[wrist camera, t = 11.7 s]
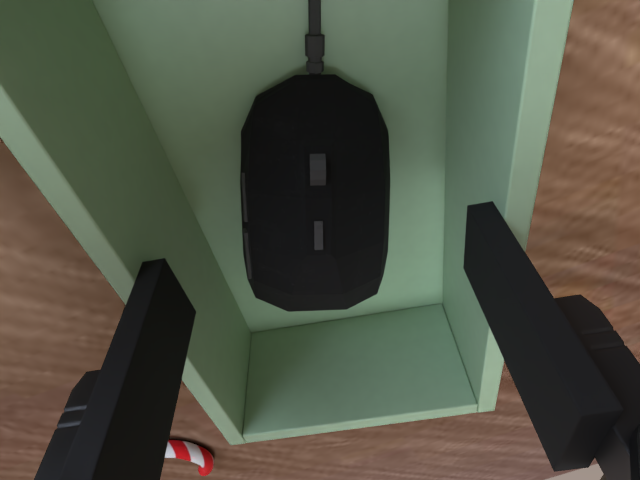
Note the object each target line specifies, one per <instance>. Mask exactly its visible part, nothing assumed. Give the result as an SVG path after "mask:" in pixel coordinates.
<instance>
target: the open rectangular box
mask: <svg viewBox="0 0 640 480" xmlns="http://www.w3.org/2000/svg"><path fill="white" fill-rule="evenodd" d="M573 2H574V0H321V34H324V35H325V55H324V56H323V57H322V61H323V62H324V71H323V72H321V74H336V75H337V76H339V77H340V78H342V79H343V80H345V81H347V82H348V83H350V84H352V85H354V86H356V87H358V88H360V89H362V90H365V91H367V92H369V93H371V94H373V96H374V98H375V100H376V103H377V105H378V107H379V110H380V112H381V114H382V117H383V119H384V121H385V124H386V126H387V128H388V133H389V155H390V212H389V240H388V254H387V259H386V265H385V270H384V275H383V278H382V281H381V284H380V287H379V290H378V293H377V294H376V295H374V296H372V297H370V298H368V299H366V300H364V301H362V302H361V303H359V304H357V305H355V306H353V307H351V308H349V309H347V310H321V311H294V312H288V311H285V310H283V309H281V308H278V307H276V306H274V305H271V304H269V303H267V302H264V301H262V300H260V299H257V298H255V295H254V293H253V291H252V289H251V286H250V284H249V282H248V279H247V274H246V268H245V262H244V256H243V237H242V214H241V190H240V170H241V130H242V127H243V125H244V123H245V120H246V118H247V116H248V113H249V111H250V109H251V106H252V104H253V102H254V99H255V97H256V96H257V95H259V94H260V93H262V92H264V91H266V90H268V89H270V88H272V87H274V86H275V85H277V84H279V83H281V82H283V81H285V80H287V79H289V78H290V77H292V76H294V75H309V72H307V71H306V62H307V61H308V57H307V56H305V35H306V34H309V16H308V0H0V138H1V139H2V140H3V142H4V143H5V144H6V146H7V147H8V148H9V150H10V151H11V152H12V154H13V155H14V156H15V158H16V159H17V160H18V162H19V163H20V164H21V166H22V167H23V168H24V170H25V171H26V172H27V174H28V175H29V176H30V178H31V179H32V180H33V182H34V183H35V184H36V186H37V187H38V188H39V190H40V191H41V192H42V194H43V195H44V196H45V198H46V199H47V200H48V202H49V203H50V204H51V206H52V207H53V208H54V210H55V211H56V212H57V214H58V215H59V216H60V218H61V219H62V220H63V222H64V223H65V224H66V226H67V227H68V229H69V230H70V231H71V233H72V234H73V235H74V237H75V238H76V239H77V241H78V242H79V243H80V245H81V246H82V247H83V249H84V250H85V251H86V253H87V254H88V255H89V257H90V258H91V259H92V261H93V262H94V263H95V265H96V266H97V267H98V269H99V270H100V271H101V273H102V274H103V275H104V277H105V278H106V279H107V281H108V282H109V283H110V285H111V286H112V287H113V289H114V290H115V291H116V293H117V294H118V295H119V297H120V298H121V299H122V301H123V302H124V303H125V305H126V303H127V301H128V298H129V295H130V293H131V290H132V288H133V285H134V282H135V280H136V277H137V275H138V272H139V270H140V267H141V264H142V262H145V261H151V260H157V259H162V258H165V259H166V261H167V262H168V264H169V266H170V268H171V269H172V271H173V273H174V274H175V276H176V278H177V279H178V281H179V283H180V285H181V286H182V288H183V290H184V291H185V293H186V295H187V297H188V298H189V300H190V302H191V303H192V305H193V307H194V308H195V310H196V316H195V320H194V325H193V329H192V334H191V339H190V343H189V348H188V352H187V357H186V361H185V366H184V371H183V375H182V381H183V382H184V383H185V385H186V386H187V387H188V389H189V390H190V391H191V393H192V394H193V395H194V397H195V398H196V399H197V401H198V402H199V403H200V405H201V406H202V407H203V409H204V410H205V411H206V413H207V414H208V415H209V417H210V418H211V419H212V421H213V422H214V423H215V425H216V426H217V427H218V429H219V430H220V431H221V433H222V434H223V435H224V437H225V438H226V439H227V441H228V442H229V443H230V445H236V444H244V443H246V442H247V443H250V442H257V441H265V440H272V439H280V438H288V437H295V436H303V435H310V434H318V433H325V432H333V431H341V430H348V429H356V428H363V427H371V426H378V425H386V424H394V423H401V422H409V421H416V420H424V419H431V418H439V417H446V416H454V415H462V414H469V413H476V412H478V413H479V412H487V411H494V410H495V405H496V400H497V395H498V389H499V384H500V379H501V374H502V369H503V364H504V358H503V356H502V354H501V352H500V349H499V347H498V345H497V343H496V340H495V338H494V336H493V334H492V331H491V329H490V327H489V325H488V322H487V320H486V318H485V316H484V313H483V311H482V309H481V307H480V305H479V302H478V300H477V298H476V296H475V293H474V291H473V289H472V287H471V284H470V282H469V280H468V278H467V275H466V273H465V271H464V269H463V265H464V249H465V233H466V218H467V205H473V204H478V203H484V202H490V201H493V202H494V204H495V206H496V207H497V209H498V210H499V212H500V214H501V215H502V217H503V218H504V220H505V221H506V223H507V225H508V226H509V228H510V229H511V231H512V233H513V234H514V236H515V237H516V239H517V240H518V242H519V244H520V245H521V247H522V248H523V250H524V252H525V250H526V245H527V240H528V235H529V229H530V224H531V219H532V214H533V209H534V204H535V198H536V193H537V188H538V183H539V178H540V173H541V167H542V162H543V157H544V152H545V147H546V142H547V136H548V131H549V126H550V121H551V116H552V111H553V106H554V100H555V95H556V90H557V85H558V80H559V75H560V69H561V64H562V59H563V54H564V49H565V44H566V38H567V33H568V28H569V23H570V18H571V13H572V7H573Z"/></svg>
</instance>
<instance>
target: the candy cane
mask: <svg viewBox="0 0 640 480" xmlns="http://www.w3.org/2000/svg"><path fill="white" fill-rule="evenodd" d="M165 458H179V459H184V460H188V461H191V462H194V463H196V464H198V465H199V468H198V471H199V473H200V475H202V476H206V475H208V474H209V473H210V472H211V471H212V469H213V466H214V459H213V456H212V455H211V453H210V452H209V451H207V450H206V449H204V448H203V447H201V446H198V445H196V444H193V443H190V442H187V441H181V440H168V444H167V449H166V453H165Z"/></svg>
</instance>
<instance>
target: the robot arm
mask: <svg viewBox="0 0 640 480" xmlns="http://www.w3.org/2000/svg"><path fill="white" fill-rule="evenodd" d="M463 269H464V271H465V273H466V275H467V278H468V280H469V282H470V284H471V287H472V289H473V291H474V293H475V296H476V298H477V300H478V302H479V305H480V307H481V309H482V311H483V313H484V316H485V318H486V320H487V322H488V325H489V327H490V329H491V331H492V334H493V336H494V338H495V340H496V343H497V345H498V347H499V349H500V352H501V354H502V356H503V358H504V361H505V363H506V365H507V367H508V369H509V372H510V374H511V376H512V378H513V381H514V383H515V385H516V387H517V390H518V392H519V394H520V396H521V399H522V401H523V403H524V405H525V408H526V410H527V412H528V414H529V417H530V419H531V421H532V423H533V426H534V428H535V430H536V432H537V434H538V437H539V439H540V441H541V443H542V446H543V448H544V450H545V452H546V455H547V457H548V459H549V461H550V464H551V466H552V468H553V470H554V472H555V471H563V470H571V469H579V468H587V467H589V466H590V464H591V462H592V461H593V459H594V458H596V460H597V462H598V464H599V466H600V468H601V470H602V471H603V473H604V475H603V476H602V478H601V479H600V480H640V364H639V362H638V361H637V360H636V358H635V357H634V355H633V354H632V353H631V351H630V350H629V349H628V347H627V346H625V345H624V342H623V340H622V339H621V337H620V336H619V335H618V333H617V332H616V331H614V330H613V326H612V325H611V324H610V322H609V321H608V319H607V318H606V317H605V315H604V314H603V313H602V311H601V310H600V309H599V308H598V307H597V306H595V305H594V304H592V303H591V302H590V301H588V300H587V299H586V298H584V297H583V296H582V295H574V296H567V297H561V298H553V296H552V294H551V293H550V291H549V290H548V288H547V286H546V285H545V283H544V282H543V280H542V279H541V277H540V275H539V274H538V272H537V271H536V269H535V267H534V266H533V264H532V263H531V261H530V260H529V258H528V256H527V255H526V253H525V252H524V250H523V248H522V247H521V245H520V244H519V242H518V240H517V239H516V237H515V236H514V234H513V233H512V231H511V229H510V228H509V226H508V225H507V223H506V221H505V220H504V218H503V217H502V215H501V214H500V212H499V210H498V209H497V207H496V206H495V204H494V202H493V201H490V202H484V203H478V204H473V205H467V218H466V233H465V249H464V265H463ZM195 316H196V310H195V308H194V307H193V305H192V303H191V302H190V300H189V298H188V297H187V295H186V293H185V291H184V290H183V288H182V286H181V285H180V283H179V281H178V279H177V278H176V276H175V274H174V273H173V271H172V269H171V268H170V266H169V264H168V262H167V261H166V259H165V258H162V259H157V260H151V261H145V262H142V264H141V267H140V270H139V272H138V275H137V277H136V280H135V282H134V285H133V288H132V290H131V293H130V295H129V298H128V301H127V303H126V306H125V308H124V311H123V314H122V316H121V319H120V321H119V324H118V326H117V329H116V332H115V334H114V337H113V339H112V342H111V345H110V347H109V350H108V352H107V355H106V357H105V360H104V363H103V365H102V368H101V370H95V371H89V372H86V373H85V374H84V376H83V377H82V378H81V379H80V381H79V382H78V383H77V385H76V386H75V387H74V388H73V390H72V392H71V394H70V396H69V399H68V401H67V403H66V406H65V408H64V413H62V415H61V417H60V420H59V422H58V424H57V426H58V428H57V429H56V430H55V432H54V434H53V436H52V439H51V441H50V443H49V446H48V448H47V450H46V453H45V455H44V457H43V460H42V462H41V464H40V467H39V469H38V471H37V474H36V476H35V478H34V480H160V476H161V472H162V467H163V463H164V458H165V453H166V449H167V444H168V440H169V435H170V430H171V426H172V421H173V417H174V412H175V407H176V403H177V398H178V394H179V389H180V384H181V380H182V375H183V371H184V366H185V361H186V357H187V352H188V348H189V343H190V339H191V334H192V329H193V325H194V320H195Z"/></svg>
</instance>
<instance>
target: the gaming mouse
mask: <svg viewBox="0 0 640 480" xmlns="http://www.w3.org/2000/svg"><path fill="white" fill-rule="evenodd" d="M308 16H309V34H306V35H305V56H307V57H308V61H307V62H306V71H307V72H309V75H294V76H292V77H290V78H289V79H287V80H285V81H283V82H281V83H279V84H277V85H275V86H274V87H272V88H270V89H268V90H266V91H264V92H262V93H260V94H259V95H257V96H256V97H255V99H254V102H253V104H252V106H251V109H250V111H249V113H248V116H247V118H246V120H245V123H244V125H243V127H242V130H241V170H240V190H241V214H242V237H243V256H244V262H245V268H246V274H247V279H248V282H249V284H250V286H251V289H252V291H253V293H254V295H255V298H257V299H260V300H262V301H264V302H267V303H269V304H271V305H274V306H276V307H278V308H281V309H283V310H285V311H288V312H294V311H321V310H347V309H349V308H351V307H353V306H355V305H357V304H359V303H361V302H362V301H364V300H366V299H368V298H370V297H372V296H374V295H376V294H377V293H378V290H379V287H380V284H381V281H382V278H383V275H384V270H385V265H386V259H387V254H388V240H389V212H390V155H389V133H388V128H387V126H386V124H385V121H384V119H383V117H382V114H381V112H380V110H379V107H378V105H377V103H376V100H375V98H374V96H373V94H371V93H369V92H367V91H365V90H362V89H360V88H358V87H356V86H354V85H352V84H350V83H348V82H347V81H345V80H343V79H342V78H340V77H339V76H337V75H336V74H321V72H323V71H324V62H323V61H322V57H323V56H324V55H325V35H324V34H321V0H308Z"/></svg>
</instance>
